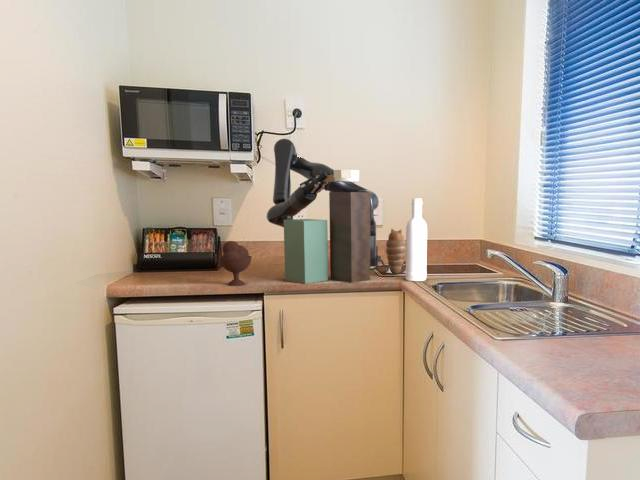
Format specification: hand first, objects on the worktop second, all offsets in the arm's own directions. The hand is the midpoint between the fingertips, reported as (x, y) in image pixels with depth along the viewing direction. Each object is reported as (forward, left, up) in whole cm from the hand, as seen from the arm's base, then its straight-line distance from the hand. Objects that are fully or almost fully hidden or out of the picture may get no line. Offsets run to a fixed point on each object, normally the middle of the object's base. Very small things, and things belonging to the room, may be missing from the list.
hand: (328, 174), depth 191 cm
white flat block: (0, +4, -3) cm, 5 cm away
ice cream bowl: (+34, -10, -39) cm, 53 cm away
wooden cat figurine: (-22, +15, -39) cm, 47 cm away
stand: (0, +11, -39) cm, 40 cm away
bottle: (-16, +30, -39) cm, 51 cm away
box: (+12, +1, -39) cm, 40 cm away
